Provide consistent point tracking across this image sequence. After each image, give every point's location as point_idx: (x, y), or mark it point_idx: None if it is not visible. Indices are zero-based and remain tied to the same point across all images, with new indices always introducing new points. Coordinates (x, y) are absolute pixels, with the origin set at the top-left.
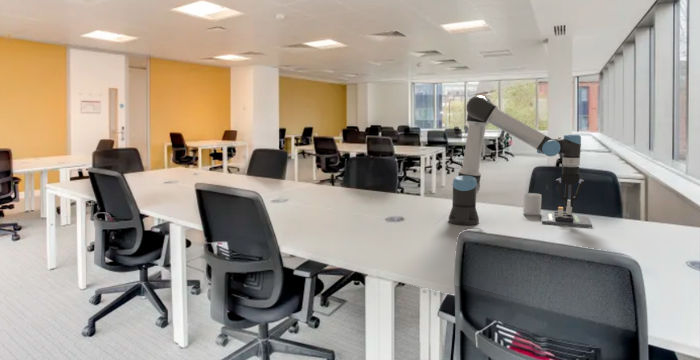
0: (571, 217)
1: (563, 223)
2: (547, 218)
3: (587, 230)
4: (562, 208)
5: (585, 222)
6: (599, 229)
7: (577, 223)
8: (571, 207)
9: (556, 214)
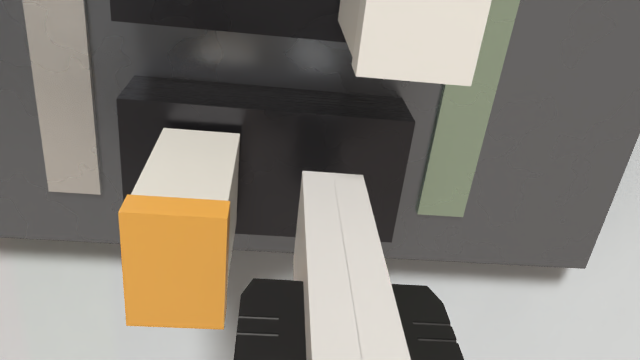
0: (375, 191)
1: (250, 240)
2: (8, 57)
3: (470, 356)
4: (207, 321)
5: (551, 172)
6: (617, 288)
7: (421, 253)
8: (449, 77)
9: (138, 6)
